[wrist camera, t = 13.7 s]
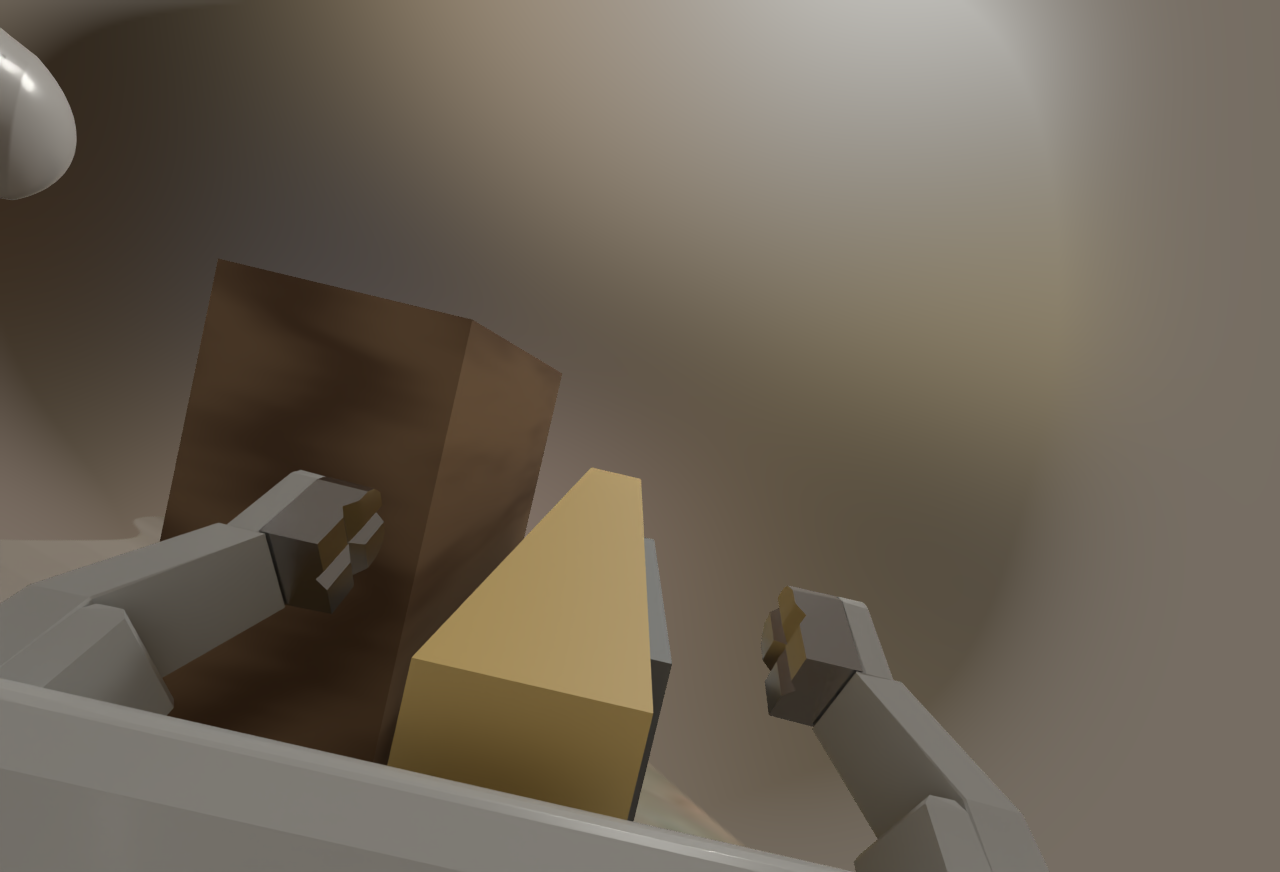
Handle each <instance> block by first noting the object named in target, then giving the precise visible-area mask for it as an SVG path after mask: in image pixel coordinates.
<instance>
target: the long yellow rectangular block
mask: <svg viewBox="0 0 1280 872" xmlns="http://www.w3.org/2000/svg"><path fill="white" fill-rule="evenodd" d="M652 717H653V698H652V679H651V660H650V641H649V622H648V603H647V585H646V566H645V547H644V528H643V509H642V490H641V479H638V478H634V477H630V476H625V475H621V474H617V473H613V472H609V471H604V470H600V469H596V468H591V469H590V470H589V471H588V472H587V473H586V474H585V475H584V476H583V477H582V478H581V479H580V480H579V481H578V482H577V483H576V484H575V485H574V486H573V487H572V489H571V490H570V491H569V492H568V493H567V494H566V495H565V496H564V497H563V498H562V499H561V500H560V501H559V502H558V503H557V504H556V505H555V507H554V508H553V509H552V510H551V511H550V512H549V513H548V514H547V515H546V516H545V517H544V518H543V519H542V520H541V521H540V522H539V523H538V524H537V526H536V527H535V528H534V529H533V530H532V531H531V532H530V533H529V534H528V535H527V536H526V537H525V538H524V539H523V540H522V541H521V542H520V543H519V545H518V546H517V547H516V548H515V549H514V550H513V551H512V552H511V553H510V554H509V555H508V556H507V557H506V558H505V559H504V560H503V561H502V562H501V564H500V565H499V566H498V567H497V568H496V569H495V570H494V571H493V572H492V573H491V574H490V575H489V576H488V577H487V578H486V579H485V580H484V582H483V583H482V584H481V585H480V586H479V587H478V588H477V589H476V590H475V591H474V592H473V593H472V594H471V595H470V596H469V597H468V598H467V599H466V601H465V602H464V603H463V604H462V605H461V606H460V607H459V608H458V609H457V610H456V611H455V612H454V613H453V614H452V615H451V616H450V617H449V619H448V620H447V621H446V622H445V623H444V624H443V625H442V626H441V627H440V628H439V629H438V630H437V631H436V632H435V633H434V634H433V635H432V636H431V638H430V639H429V640H428V641H427V642H426V643H425V644H424V645H423V646H422V647H421V648H420V649H419V650H418V651H417V652H416V653H415V654H414V656H413V657H412V658H411V662H410V667H409V671H408V675H407V680H406V684H405V689H404V693H403V698H402V702H401V706H400V711H399V715H398V720H397V724H396V729H395V733H394V737H393V742H392V746H391V751H390V755H389V759H388V764H387V766H391V767H395V768H400V769H404V770H409V771H413V772H417V773H422V774H426V775H431V776H435V777H439V778H444V779H448V780H453V781H457V782H461V783H466V784H470V785H474V786H479V787H483V788H488V789H492V790H496V791H501V792H505V793H510V794H514V795H518V796H523V797H527V798H532V799H536V800H540V801H545V802H549V803H554V804H558V805H562V806H567V807H571V808H576V809H580V810H584V811H589V812H593V813H598V814H602V815H606V816H611V817H615V818H620V819H624V820H627V819H628V815H629V811H630V807H631V803H632V799H633V795H634V790H635V786H636V782H637V778H638V774H639V770H640V766H641V762H642V758H643V754H644V749H645V745H646V741H647V737H648V733H649V729H650V725H651V721H652Z"/></svg>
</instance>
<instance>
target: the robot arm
mask: <svg viewBox="0 0 1280 872" xmlns="http://www.w3.org/2000/svg"><path fill="white" fill-rule="evenodd" d="M75 147H76V127H75V122H74V117H73V114H72V111H71V108H70V106H69V104H68V102H67V99H66V97H65V95H64V93H63V92H62V90H61V88H60V87H59V85H58V83H57V82H56V80H55V79H54V78H53V76H52V75H51V73H50V72H49V71H48V69H47V68H46V67H45V66H44V64H43V63H42V62H41V61H40V60H39V59H38V57H37V56H35V55H34V54H33V53H32V52H30V51H29V50H28V49H26V48H25V47H24V46H23V45H21V44H20V43H19V42H17V41H16V40H15V39H14V38H12V37H11V36H10V35H9V34H7V33H6V32H5V31H4V30H3V29H1V28H0V198H4V199H10V200H16V199H20V198H23V197H27V196H30V195H33V194H35V193H38V192H40V191H42V190H44V189H46V188H47V187H49V186H50V185H52V184H53V183H55V182H56V181H57V180H58V179H59V178H60V177H61V176H62V175H63V174H64V173H65V172H66V170H67V169H68V167H69V166H70V163H71V161H72V159H73V157H74V153H75ZM381 506H382V499H381V493H380V491H378V490H376V489H374V488H370V487H366V486H362V485H359V484H355V483H351V482H347V481H343V480H339V479H336V478H332V477H328V476H322V475H318V474H314V473H311V472H307V471H303V470H299V471H295V472H292V473H290V474H289V475H288V476H286V477H285V478H284V479H283V480H281V481H280V482H279V483H278V484H276V485H275V486H274V487H273V488H271V489H270V490H269V491H268V492H266V493H265V494H264V495H263V496H261V497H260V498H259V499H258V500H257V501H255V502H254V503H253V504H252V505H250V506H249V507H248V508H247V509H245V510H244V511H243V512H242V513H240V514H239V515H238V516H237V517H235V518H234V519H233V520H232V521H230V522H229V523H228V524H222V523H216V524H213V525H210V526H207V527H204V528H201V529H198V530H194V531H191V532H188V533H185V534H182V535H179V536H176V537H173V538H170V539H167V540H164V541H161V542H158V543H155V544H152V545H149V546H146V547H143V548H140V549H136V550H133V551H130V552H127V553H124V554H121V555H118V556H115V557H112V558H109V559H106V560H103V561H100V562H97V563H94V564H91V565H88V566H85V567H82V568H78V569H75V570H72V571H69V572H66V573H63V574H60V575H57V576H54V577H51V578H48V579H45V580H42V581H39V582H36V583H33V584H30V585H28V586H26V587H25V588H23V589H22V590H20V591H19V592H17V593H16V594H14V595H13V596H11V597H10V598H8V599H7V600H5V601H4V602H2V603H1V604H0V872H853V871H848V870H843V869H839V868H835V867H830V866H826V865H822V864H817V863H813V862H808V861H804V860H800V859H795V858H791V857H786V856H782V855H778V854H773V853H769V852H765V851H760V850H756V849H751V848H747V847H743V846H738V845H734V844H729V843H725V842H721V841H716V840H712V839H707V838H703V837H699V836H694V835H690V834H685V833H681V832H677V831H672V830H668V829H663V828H659V827H655V826H650V825H646V824H642V823H637V822H633V821H628V820H624V819H620V818H615V817H611V816H606V815H602V814H598V813H593V812H589V811H584V810H580V809H576V808H571V807H567V806H562V805H558V804H554V803H549V802H545V801H540V800H536V799H532V798H527V797H523V796H518V795H514V794H510V793H505V792H501V791H496V790H492V789H488V788H483V787H479V786H474V785H470V784H466V783H461V782H457V781H453V780H448V779H444V778H439V777H435V776H431V775H426V774H422V773H417V772H413V771H409V770H404V769H400V768H395V767H391V766H387V765H382V764H378V763H373V762H369V761H364V760H360V759H356V758H351V757H347V756H342V755H338V754H334V753H329V752H325V751H320V750H316V749H312V748H307V747H303V746H298V745H294V744H290V743H285V742H281V741H276V740H272V739H267V738H263V737H259V736H254V735H250V734H245V733H241V732H237V731H232V730H228V729H223V728H219V727H215V726H210V725H206V724H201V723H197V722H193V721H188V720H184V719H179V718H175V717H170V716H167V715H168V714H169V712H170V711H171V710H172V709H173V708H174V698H173V696H172V695H171V693H170V691H169V689H168V687H167V686H166V684H165V682H164V680H163V677H165V676H166V675H168V674H170V673H172V672H173V671H175V670H177V669H179V668H180V667H182V666H184V665H186V664H187V663H189V662H191V661H193V660H194V659H196V658H198V657H200V656H201V655H203V654H205V653H207V652H208V651H210V650H212V649H214V648H215V647H217V646H219V645H220V644H222V643H224V642H226V641H227V640H229V639H231V638H233V637H234V636H236V635H238V634H240V633H241V632H243V631H245V630H247V629H248V628H250V627H252V626H254V625H255V624H257V623H259V622H261V621H262V620H264V619H266V618H268V617H269V616H271V615H273V614H275V613H276V612H278V611H280V610H282V609H283V608H285V605H289V606H294V607H299V608H304V609H309V610H314V611H319V612H324V613H329V614H332V613H333V612H334V611H335V609H336V608H337V607H338V605H339V604H340V603H341V602H342V600H343V599H344V598H345V597H346V595H347V594H348V593H349V592H350V590H351V589H352V588H353V586H354V580H353V575H354V574H356V573H358V572H360V571H362V570H365V569H367V568H368V567H369V566H370V565H371V563H372V562H373V561H374V559H375V558H376V556H377V554H378V552H379V550H380V548H381V545H382V543H383V539H384V532H385V528H384V521H383V520H382V519H381V517H380V516H379V515H378V514H377V513H376V512H377V510H378V509H379V508H380V507H381ZM778 602H779V608H778V609H776V610H774V611H772V612H770V613H769V616H768V618H767V619H766V622H765V624H764V629H763V633H762V642H761V650H762V659H763V661H764V663H765V664H766V665H767V667H768V668H769V669H770V671H771V672H770V674H769V675H768V677H767V679H766V680H765V686H766V695H767V703H768V711H769V715H770V716H774V717H777V718H781V719H785V720H789V721H793V722H797V723H801V724H805V725H808V726H813V731H814V733H815V734H816V736H817V738H818V740H819V741H820V743H821V745H822V746H823V748H824V750H825V751H826V753H827V755H828V756H829V758H830V760H831V761H832V763H833V765H834V766H835V768H836V770H837V771H838V773H839V775H840V776H841V778H842V780H843V782H844V783H845V785H846V787H847V788H848V790H849V791H850V793H851V795H852V796H853V798H854V800H855V802H856V803H857V805H858V806H859V808H860V810H861V812H862V813H863V815H864V817H865V818H866V820H867V822H868V823H869V825H870V827H871V828H872V830H873V832H874V833H875V835H876V837H877V838H878V839H877V840H876V841H875V842H874V843H873V844H872V845H870V846H869V847H868V848H867V849H866V850H864V851H863V852H862V853H861V854H860V855H859V856H858V857H857V858H856V860H855V861H854V865H855V870H856V872H1049V869H1048V867H1047V865H1046V864H1045V861H1044V859H1043V857H1042V854H1041V852H1040V850H1039V848H1038V846H1037V844H1036V842H1035V840H1034V837H1033V835H1032V833H1031V831H1030V829H1029V827H1028V825H1027V823H1026V821H1025V818H1024V816H1023V814H1022V813H1021V812H1020V811H1019V810H1018V809H1017V808H1016V807H1015V805H1013V803H1012V802H1011V801H1010V800H1009V799H1008V798H1007V797H1006V796H1005V795H1004V794H1003V792H1002V791H1001V790H999V788H998V787H997V786H996V785H995V784H994V783H993V782H992V781H991V779H989V777H988V776H987V775H986V774H985V773H984V772H983V771H982V770H981V768H979V766H978V765H977V764H976V763H975V762H974V761H973V760H972V759H971V758H970V757H969V756H968V754H967V753H966V752H965V751H964V750H963V749H962V748H961V747H960V746H959V745H958V744H957V742H956V741H955V740H954V739H953V738H952V737H951V736H950V735H949V734H948V733H947V731H945V729H944V728H943V727H942V726H941V725H940V724H939V723H938V722H937V721H936V720H935V718H934V717H933V716H932V715H931V714H930V713H929V712H928V711H927V710H926V709H925V708H924V706H923V705H922V704H921V703H920V702H919V701H918V700H917V699H916V698H915V697H914V696H913V695H912V693H910V691H909V690H908V689H907V688H906V687H905V686H904V685H903V684H902V682H899V681H895V680H893V678H892V675H891V672H890V669H889V667H888V664H887V661H886V658H885V656H884V653H883V650H882V647H881V644H880V641H879V639H878V636H877V633H876V630H875V628H874V625H873V622H872V619H871V616H870V613H869V611H868V608H867V607H866V605H865V604H864V603H862V602H859V601H854V600H850V599H845V598H841V597H835V596H832V595H827V594H823V593H818V592H814V591H809V590H805V589H800V588H796V587H792V586H786V587H785V588H784V589H783V590H782V591H781V594H780V595H779V597H778Z"/></svg>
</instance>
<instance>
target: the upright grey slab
mask: <svg viewBox="0 0 1280 872" xmlns="http://www.w3.org/2000/svg"><path fill="white" fill-rule="evenodd" d="M644 547H645V566H646V585H647V603H648V622H649V641H650V660H651V679H652V698H653V717H652V721H651V725H650V729H649V733H648V737H647V741H646V745H645V749H644V754H643V758H642V762H641V766H640V770H639V774H638V778H637V782H636V786H635V790H634V795H633V799H632V803H631V807H630V811H629V815H628V819H627V820H628V821H634V817H635V813H636V809H637V805H638V800H639V796H640V792H641V788H642V784H643V780H644V776H645V772H646V768H647V764H648V760H649V756H650V751H651V747H652V743H653V739H654V735H655V731H656V727H657V723H658V719H659V715H660V711H661V707H662V702H663V698H664V694H665V690H666V686H667V682H668V678H669V674H670V670H671V666H672V661H671V654H670V647H669V640H668V634H667V626H666V619H665V612H664V605H663V599H662V591H661V585H660V577H659V570H658V564H657V556H656V550H655V542H654V540H653V539H649V538H645V537H644Z"/></svg>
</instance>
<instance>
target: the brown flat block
mask: <svg viewBox="0 0 1280 872" xmlns="http://www.w3.org/2000/svg"><path fill="white" fill-rule="evenodd" d="M561 376H562V373H560V372H558V371H557V370H555V369H554V368H552V367H550V366H549V365H547V364H545V363H543V362H542V361H540V360H539V359H537V358H535V357H533V356H532V355H530V354H529V353H527V352H525V351H524V350H522V349H520V348H519V347H517V346H515V345H513V344H512V343H510V342H509V341H507V340H505V339H504V338H502V337H500V336H498V335H497V334H495V333H494V332H492V331H490V330H489V329H487V328H485V327H484V326H482V325H480V324H479V323H477V322H475V321H474V320H471V319H466V318H463V317H459V316H454V315H450V314H446V313H442V312H438V311H433V310H429V309H425V308H421V307H417V306H413V305H409V304H405V303H400V302H396V301H392V300H388V299H384V298H379V297H375V296H371V295H367V294H363V293H359V292H355V291H350V290H346V289H342V288H338V287H334V286H330V285H325V284H321V283H317V282H313V281H309V280H305V279H301V278H296V277H292V276H288V275H284V274H279V273H275V272H271V271H267V270H263V269H259V268H255V267H250V266H246V265H242V264H238V263H234V262H230V261H225V260H221V259H218V262H217V267H216V272H215V277H214V282H213V287H212V291H211V296H210V301H209V306H208V311H207V316H206V321H205V325H204V331H203V335H202V340H201V345H200V350H199V354H198V359H197V364H196V369H195V374H194V379H193V384H192V388H191V394H190V398H189V403H188V408H187V413H186V417H185V422H184V427H183V432H182V437H181V442H180V447H179V452H178V456H177V461H176V466H175V471H174V476H173V481H172V485H171V490H170V495H169V500H168V505H167V510H166V514H165V519H164V524H163V529H162V534H161V539H160V542H161V541H164V540H167V539H170V538H173V537H176V536H179V535H182V534H185V533H188V532H191V531H194V530H198V529H201V528H204V527H207V526H210V525H213V524H216V523H222V524H228V523H229V522H230V521H232V520H233V519H234V518H235V517H237V516H238V515H239V514H240V513H242V512H243V511H244V510H245V509H247V508H248V507H249V506H250V505H252V504H253V503H254V502H255V501H257V500H258V499H259V498H260V497H261V496H263V495H264V494H265V493H266V492H268V491H269V490H270V489H271V488H273V487H274V486H275V485H276V484H278V483H279V482H280V481H281V480H283V479H284V478H285V477H286V476H288V475H289V474H290V473H292V472H295V471H299V470H303V471H307V472H311V473H314V474H318V475H322V476H328V477H332V478H336V479H339V480H343V481H347V482H351V483H355V484H359V485H362V486H366V487H370V488H374V489H376V490H378V491H380V493H381V499H382V506H381V507H380V508H379V509H378V510H377V512H376V513H377V514H378V515H379V516H380V517H381V519H382V520H383V521H384V528H385V532H384V539H383V543H382V545H381V548H380V550H379V552H378V554H377V556H376V558H375V559H374V561H373V562H372V563H371V565H370V566H369V567H368V568H367V569H365V570H362V571H360V572H358V573H356V574H354V575H353V580H354V586H353V588H352V589H351V590H350V592H349V593H348V594H347V595H346V597H345V598H344V599H343V600H342V602H341V603H340V604H339V605H338V607H337V608H336V609H335V611H334V612H333V613H332V614H329V613H324V612H319V611H314V610H309V609H304V608H299V607H294V606H289V605H285V608H283V609H282V610H280V611H278V612H276V613H275V614H273V615H271V616H269V617H268V618H266V619H264V620H262V621H261V622H259V623H257V624H255V625H254V626H252V627H250V628H248V629H247V630H245V631H243V632H241V633H240V634H238V635H236V636H234V637H233V638H231V639H229V640H227V641H226V642H224V643H222V644H220V645H219V646H217V647H215V648H214V649H212V650H210V651H208V652H207V653H205V654H203V655H201V656H200V657H198V658H196V659H194V660H193V661H191V662H189V663H187V664H186V665H184V666H182V667H180V668H179V669H177V670H175V671H173V672H172V673H170V674H168V675H166V676H165V677H163V680H164V682H165V684H166V686H167V687H168V689H169V691H170V693H171V695H172V696H173V698H174V708H173V709H172V710H171V711H170V712H169V714H168V715H167V716H170V717H175V718H179V719H184V720H188V721H193V722H197V723H201V724H206V725H210V726H215V727H219V728H223V729H228V730H232V731H237V732H241V733H245V734H250V735H254V736H259V737H263V738H267V739H272V740H276V741H281V742H285V743H290V744H294V745H298V746H303V747H307V748H312V749H316V750H320V751H325V752H329V753H334V754H338V755H342V756H347V757H351V758H356V759H360V760H364V761H369V762H373V763H378V764H382V765H387V764H388V759H389V755H390V751H391V746H392V742H393V737H394V733H395V729H396V724H397V720H398V715H399V711H400V706H401V702H402V698H403V693H404V689H405V684H406V680H407V675H408V671H409V667H410V662H411V658H412V657H413V656H414V654H415V653H416V652H417V651H418V650H419V649H420V648H421V647H422V646H423V645H424V644H425V643H426V642H427V641H428V640H429V639H430V638H431V636H432V635H433V634H434V633H435V632H436V631H437V630H438V629H439V628H440V627H441V626H442V625H443V624H444V623H445V622H446V621H447V620H448V619H449V617H450V616H451V615H452V614H453V613H454V612H455V611H456V610H457V609H458V608H459V607H460V606H461V605H462V604H463V603H464V602H465V601H466V599H467V598H468V597H469V596H470V595H471V594H472V593H473V592H474V591H475V590H476V589H477V588H478V587H479V586H480V585H481V584H482V583H483V582H484V580H485V579H486V578H487V577H488V576H489V575H490V574H491V573H492V572H493V571H494V570H495V569H496V568H497V567H498V566H499V565H500V564H501V562H502V561H503V560H504V559H505V558H506V557H507V556H508V555H509V554H510V553H511V552H512V551H513V550H514V549H515V548H516V547H517V546H518V545H519V543H520V542H521V541H522V540H523V539H524V536H525V531H526V527H527V522H528V518H529V514H530V510H531V505H532V501H533V496H534V493H535V488H536V484H537V480H538V475H539V471H540V467H541V462H542V458H543V454H544V449H545V445H546V441H547V436H548V432H549V427H550V424H551V419H552V415H553V411H554V406H555V402H556V398H557V393H558V389H559V385H560V380H561Z"/></svg>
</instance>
